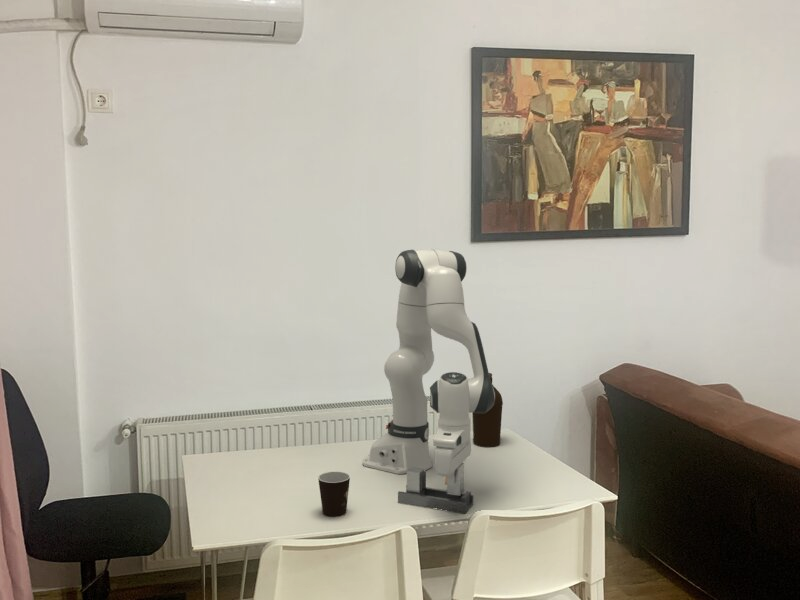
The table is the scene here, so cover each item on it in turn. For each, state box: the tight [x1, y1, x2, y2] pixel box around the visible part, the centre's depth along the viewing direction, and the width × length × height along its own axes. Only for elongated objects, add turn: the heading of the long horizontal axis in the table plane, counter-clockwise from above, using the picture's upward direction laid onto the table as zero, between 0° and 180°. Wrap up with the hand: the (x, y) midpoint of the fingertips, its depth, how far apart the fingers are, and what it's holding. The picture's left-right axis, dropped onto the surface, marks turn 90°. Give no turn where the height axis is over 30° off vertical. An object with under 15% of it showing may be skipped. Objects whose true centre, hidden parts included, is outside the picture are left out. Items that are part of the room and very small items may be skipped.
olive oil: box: [472, 372, 504, 448], centre depth 269 cm, size 11×11×25 cm
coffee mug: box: [317, 471, 351, 518], centre depth 210 cm, size 12×9×10 cm
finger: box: [444, 462, 465, 496], centre depth 213 cm, size 4×4×8 cm
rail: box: [397, 467, 474, 515], centre depth 215 cm, size 20×7×9 cm, turn 67°
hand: (454, 481), depth 213 cm, fingers closed on finger, 4 cm apart
